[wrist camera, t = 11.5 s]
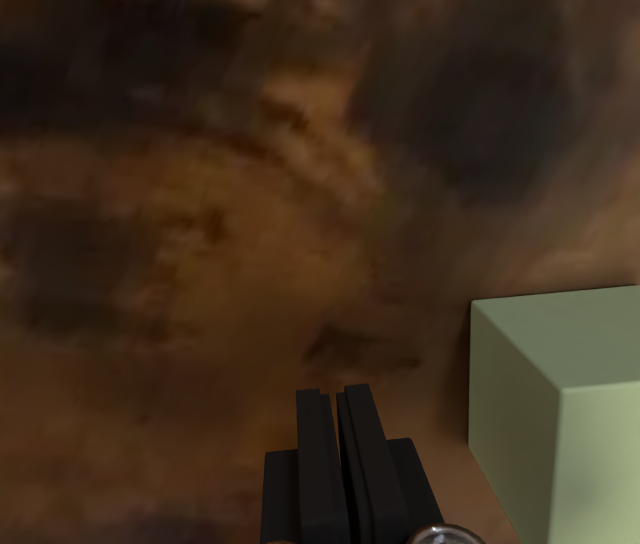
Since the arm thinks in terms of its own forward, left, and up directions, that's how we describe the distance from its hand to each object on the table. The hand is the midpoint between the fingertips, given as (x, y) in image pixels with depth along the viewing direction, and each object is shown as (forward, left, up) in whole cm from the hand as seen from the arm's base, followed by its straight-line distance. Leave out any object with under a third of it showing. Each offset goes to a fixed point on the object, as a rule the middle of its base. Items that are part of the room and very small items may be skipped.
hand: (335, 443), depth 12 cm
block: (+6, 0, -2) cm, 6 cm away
